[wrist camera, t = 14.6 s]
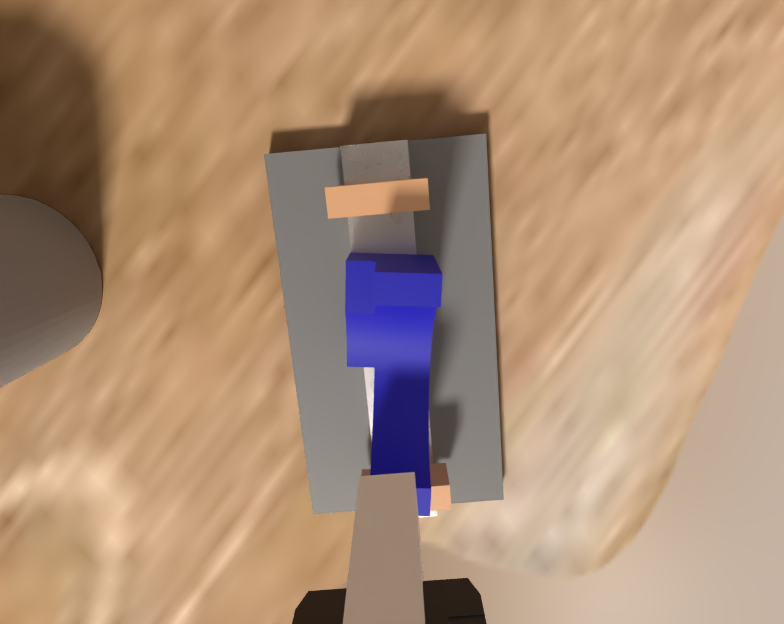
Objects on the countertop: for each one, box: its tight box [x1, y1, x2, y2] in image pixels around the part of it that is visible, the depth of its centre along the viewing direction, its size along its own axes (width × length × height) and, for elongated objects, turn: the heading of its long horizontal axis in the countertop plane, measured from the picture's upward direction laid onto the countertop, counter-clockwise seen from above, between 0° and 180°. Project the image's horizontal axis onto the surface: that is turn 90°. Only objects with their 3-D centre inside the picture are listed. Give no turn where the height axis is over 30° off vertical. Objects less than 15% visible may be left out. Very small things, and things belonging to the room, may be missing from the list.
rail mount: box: [264, 134, 504, 517], centre depth 32 cm, size 22×12×5 cm, turn 5°
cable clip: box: [345, 252, 443, 516], centre depth 29 cm, size 12×4×6 cm, turn 178°
